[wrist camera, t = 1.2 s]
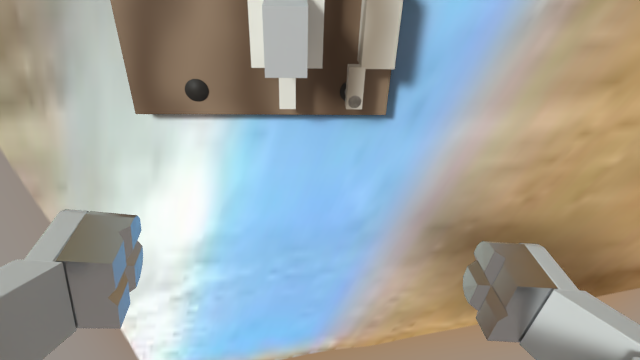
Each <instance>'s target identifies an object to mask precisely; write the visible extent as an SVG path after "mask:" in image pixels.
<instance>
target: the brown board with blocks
mask: <svg viewBox="0 0 640 360" xmlns="http://www.w3.org/2000/svg"><path fill="white" fill-rule="evenodd" d="M110 1H111V5H112V10H113V14H114V19H115V23H116V28H117V32H118V37H119V41H120V46H121V50H122V54H123V59H124V63H125V68H126V72H127V77H128V81H129V86H130V90H131V95H132V99H133V104H134V108H135V113H136V114H289V115H386V108H387V100H388V92H389V83H390V75H391V69H395V61H396V53H397V45H398V37H399V29H400V22H401V14H402V6H403V0H325V2H324V33H323V63H322V69H319V68H307V78H296V109H280V107H279V78H265V68H251V52H250V35H249V19H248V2H247V0H110Z"/></svg>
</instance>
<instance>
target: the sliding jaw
mask: <svg viewBox="0 0 640 360" xmlns="http://www.w3.org/2000/svg"><path fill="white" fill-rule="evenodd" d="M247 2H248V19H249V35H250V52H251V68H265V78H279V107H280V109H296V78H307V68H319V69H322V63H323V33H324V2H325V0H247Z"/></svg>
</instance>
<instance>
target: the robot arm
mask: <svg viewBox="0 0 640 360" xmlns="http://www.w3.org/2000/svg"><path fill="white" fill-rule="evenodd" d="M140 232H141V224H140V218H139V217H138V216H137V215H126V214H116V213H105V212H95V211H90V212H89V211H81V210H69V209H65V210H62V211H60V212H59V213H58V214H57V216H56V217H55V218H54V220H53V221H52V222H51V224H50V225H49V227H48V228H47V229H46V231H45V232H44V233H43V235H42V236H41V237H40V239H39V240H38V241H37V243H36V244H35V245H34V247H33V248H32V249H31V251H30V252H29V253H28V255H27V256H26V258H25V259H24V260H14V261H12V262H10V263H8V264H6V265H4V266H2V267H0V360H43V359H44V358H45V357H46V356H47V355H48V354H50V353H51V352H52V351H53V350H54V349H55V348H56V347H58V346H59V345H60V344H61V343H62V342H64V341H65V340H66V339H67V338H68V337H69V336H71V335H72V334H73V333H74V332H75V331H76V328H121V326H122V323H123V321H124V318H125V315H126V313H127V310H128V308H129V305H130V296H129V292H131V291H132V290H133V289H135V288H136V287H137V284H138V281H139V278H140V274H141V269H142V262H143V248H142V245H141V244H140V243H139V242H138V241H137V239H138V237H139V235H140ZM474 255H475V258H476V261H474V262H473V263H472V264H470V265H469V266H467V269H466V271H465V274H464V276H463V290H464V294H465V297H466V299H467V301H468V303H469V304H470V305H471V306H473V307H474V308H475V309H476V310H478V312H477V316H476V319H477V321H478V323H479V325H480V327H481V329H482V331H483V333H484V335H485V337H486V339H487V340H488V341H504V342H520V345H521V346H522V347H523V348H524V349H525V350H526V351H527V352H528V353H529V354H530V355H531V356H532V357H534V358H535V359H536V360H640V325H639V324H638V323H636V322H635V321H633V320H631V319H630V318H628V317H626V316H625V315H623V314H622V313H620V312H618V311H617V310H615V309H613V308H612V307H610V306H609V305H607V304H605V303H604V302H602V301H600V300H599V299H597V298H596V297H594V296H592V295H591V294H589V293H587V292H586V291H579V289H578V288H577V287H576V286H575V285H574V283H573V282H572V281H571V280H570V278H569V277H568V276H567V275H566V274H565V272H564V271H563V270H562V269H561V267H560V266H559V265H558V264H557V263H556V261H555V260H554V259H553V258H552V256H551V255H550V254H549V253H548V252H547V250H546V249H545V248H544V247H543V246H541V245H539V244H528V243H519V244H516V243H502V242H487V241H482V242H481V243H480V244H478V245H477V247H476V249H475V251H474Z"/></svg>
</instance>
